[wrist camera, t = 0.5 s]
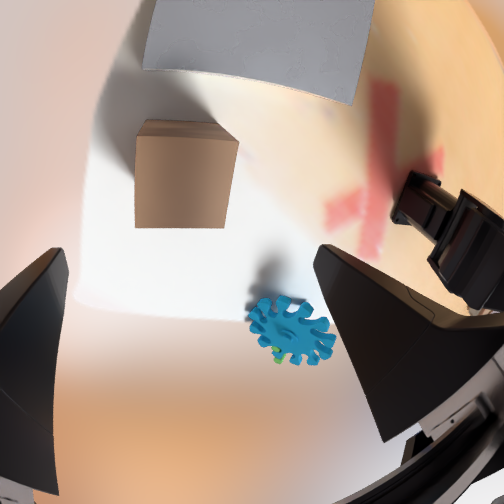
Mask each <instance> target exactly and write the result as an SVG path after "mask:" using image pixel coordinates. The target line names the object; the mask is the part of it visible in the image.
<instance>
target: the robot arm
mask: <svg viewBox="0 0 504 504" xmlns="http://www.w3.org/2000/svg"><path fill="white" fill-rule="evenodd" d="M440 186H441V181H440V180H438V179H436V178H433V177H430V176H428V175H425V174H422V173H420V172H417V171H414V170H412V171H411V172H410V174H409V177H408V180H407V182H406V185H405V188H404V190H403V193H402V195H401V198H400V201H399V203H398V205H397V208H396V210H395V213H394V215H393V217H392V222H393V223H394V224H401V225H411V226H413V227H415V228H416V229H417V230H418V231H419V232H421V233H422V234H423V235H424V236H425V237H426V238H428V239H429V240H430V241H431V242H432V243H433V244H434V245H435V247H434V249H433V251H432V252H431V254H430V255H429V256H428V258H427V261H428V262H429V264H430V266H431V267H432V269H433V270H434V272H435V273H436V274H437V276H438V277H439V279H440V280H441V282H442V283H443V285H444V286H445V288H446V289H447V290H448V291H449V292H450V293H454V294H455V295H457V296H459V297H461V298H463V300H464V301H465V302H466V303H467V305H468V306H469V307H470V308H472V309H475V310H481V308H483V309H488V310H493V311H498V312H500V313H493V314H485V315H477V316H463V315H460V314H457V313H455V312H453V311H451V310H450V309H448V308H446V307H444V306H442V305H440V304H438V303H436V302H435V301H433V300H431V299H429V298H427V297H425V296H423V295H422V294H420V293H418V292H416V291H415V290H413V289H411V288H409V287H408V286H405V285H404V284H402V283H401V282H399V281H397V280H395V279H394V278H392V277H390V276H388V275H387V274H385V273H383V272H381V271H379V270H378V269H376V268H374V267H372V266H370V265H369V264H367V263H365V262H363V261H361V260H359V259H358V258H356V257H354V256H352V255H350V254H348V253H346V252H345V251H343V250H341V249H339V248H337V247H335V246H333V245H331V244H322V245H320V246H319V248H318V251H317V254H316V257H315V259H314V262H313V268H314V271H315V274H316V277H317V279H318V282H319V285H320V288H321V291H322V294H323V297H324V300H325V302H326V305H327V307H328V309H329V311H330V313H331V316H332V318H333V320H334V322H335V325H336V327H337V329H338V331H339V333H340V336H341V338H342V341H343V343H344V345H345V348H346V350H347V352H348V354H349V357H350V359H351V362H352V364H353V366H354V369H355V371H356V374H357V376H358V379H359V381H360V383H361V386H362V388H363V391H364V394H365V395H366V399H367V401H368V404H369V407H370V409H371V412H372V414H373V417H374V419H375V422H376V425H377V428H378V430H379V433H380V436H381V438H382V441H383V442H384V443H385V442H387V441H389V440H390V439H392V438H394V437H396V436H397V435H399V434H400V433H402V432H404V431H405V430H407V429H408V428H410V427H411V426H413V425H415V424H416V423H417V422H418V423H419V424H420V426H421V428H422V430H421V431H419V432H418V433H417V434H415V435H414V436H412V437H411V438H409V439H408V440H407V441H406V445H405V450H404V454H403V458H402V462H401V466H400V467H399V468H397V469H396V470H394V471H393V472H391V473H389V474H388V475H386V476H384V477H383V478H381V479H379V480H378V481H376V482H374V483H373V484H371V485H369V486H367V487H365V488H364V489H362V490H360V491H358V492H356V493H354V494H352V495H350V496H348V497H346V498H344V499H342V500H340V501H337V502H335V503H333V504H454V502H456V501H457V499H458V498H459V497H460V496H461V495H462V494H463V493H464V492H465V491H466V490H467V489H468V488H469V486H470V485H471V484H473V483H475V482H477V481H479V480H481V479H483V478H485V477H487V476H489V475H491V474H493V473H495V472H497V471H499V470H501V469H502V468H504V218H503V217H502V216H500V215H499V214H498V213H497V212H496V211H495V210H493V209H492V208H491V207H490V206H488V205H487V204H486V203H484V202H483V201H481V200H480V199H478V198H477V197H475V196H474V195H472V194H470V193H468V192H467V191H465V190H463V189H461V191H460V195H459V198H458V199H457V198H456V197H454V196H453V195H451V194H450V193H448V192H447V191H445V190H444V189H442V188H441V187H440ZM476 208H477V209H476ZM68 276H69V270H68V266H67V261H66V257H65V253H64V250H63V249H62V248H51V249H49V250H48V251H47V252H45V253H44V254H43V255H41V256H40V257H39V258H38V259H36V260H35V261H34V262H33V263H31V264H30V265H29V266H28V267H26V268H25V269H24V270H23V271H22V272H20V273H19V274H18V275H17V276H16V277H14V278H13V279H12V280H11V281H10V282H9V283H8V284H7V285H5V286H4V287H3V288H2V289H1V290H0V504H36V503H35V502H34V499H33V490H32V489H34V490H38V491H42V492H45V493H49V494H53V495H57V496H59V490H58V483H57V476H56V467H55V455H54V436H53V400H54V383H55V372H56V362H57V353H58V346H59V340H60V334H61V328H62V321H63V316H64V309H65V299H66V298H65V297H66V290H67V283H68ZM491 504H504V495H502V496H500V497H498V498H496V499H495V500H494V501H493V502H492V503H491Z"/></svg>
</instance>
